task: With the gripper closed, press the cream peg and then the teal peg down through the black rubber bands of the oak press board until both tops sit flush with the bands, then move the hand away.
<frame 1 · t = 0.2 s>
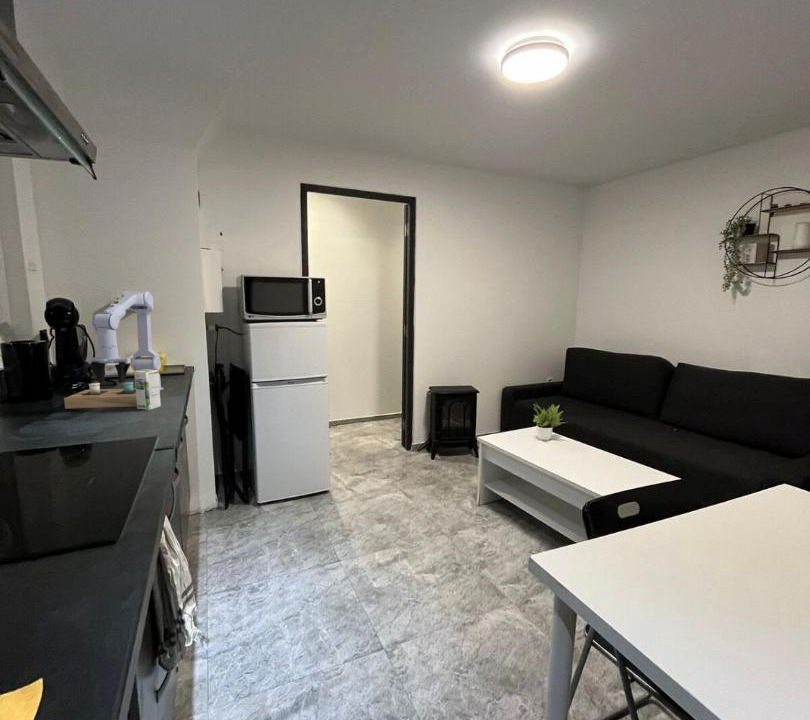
hand: (111, 382, 154), 10 cm above the table, tool pointing down, fingers open, 7 cm apart
syrup box: (149, 408, 156), on the table
oak press board: (113, 402, 163), on the table
teal peg: (128, 388, 163), point 6 cm above the table, slide at 0.0 cm
cream peg: (94, 388, 161), point 6 cm above the table, slide at 0.0 cm
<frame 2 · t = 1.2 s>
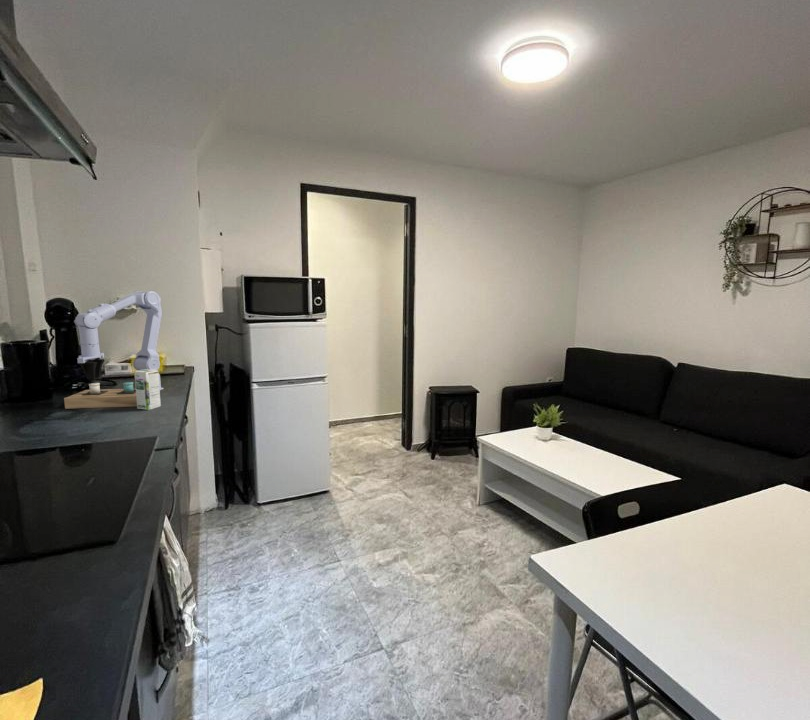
hand: (93, 378, 160), 10 cm above the table, tool pointing down, fingers open, 3 cm apart
nothing on the table moved.
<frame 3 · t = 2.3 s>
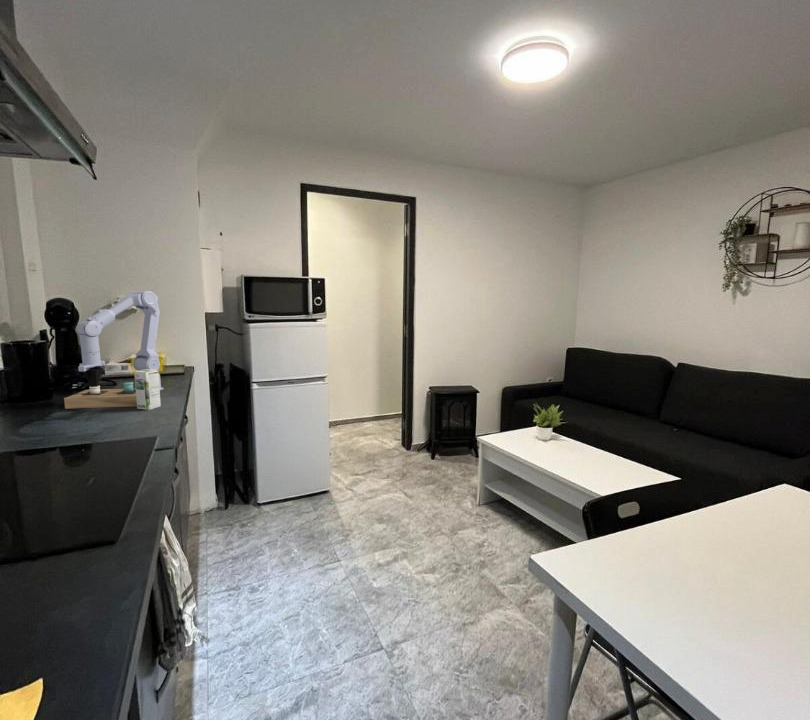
hand: (94, 386, 161), 7 cm above the table, tool pointing down, fingers closed, pressing on cream peg
cream peg: (95, 391, 161), point 5 cm above the table, slide at 1.1 cm, touching gripper
everything else where it was.
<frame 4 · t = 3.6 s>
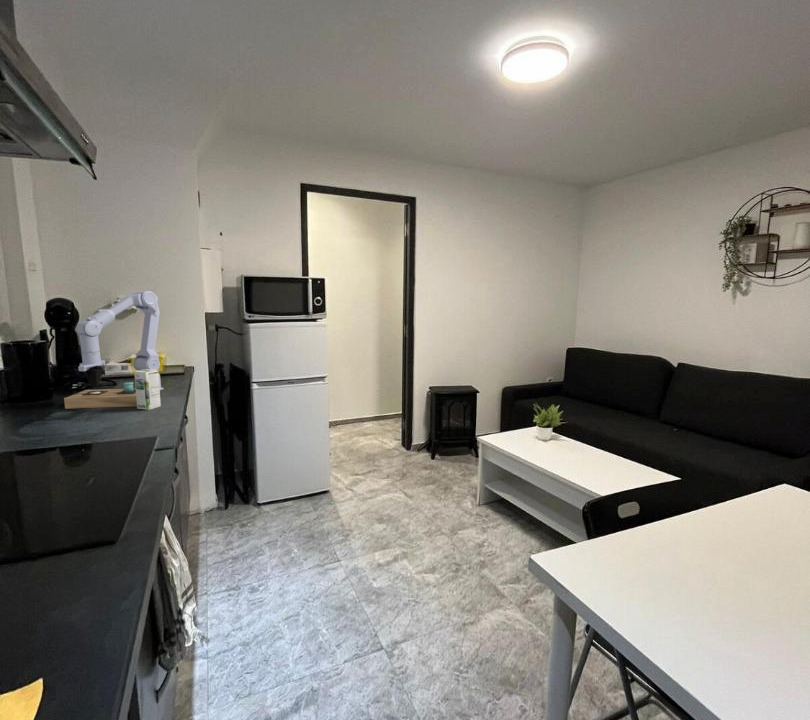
hand: (94, 386, 161), 7 cm above the table, tool pointing down, fingers closed
cream peg: (95, 397, 162), point 2 cm above the table, slide at 3.6 cm
everything else where it was.
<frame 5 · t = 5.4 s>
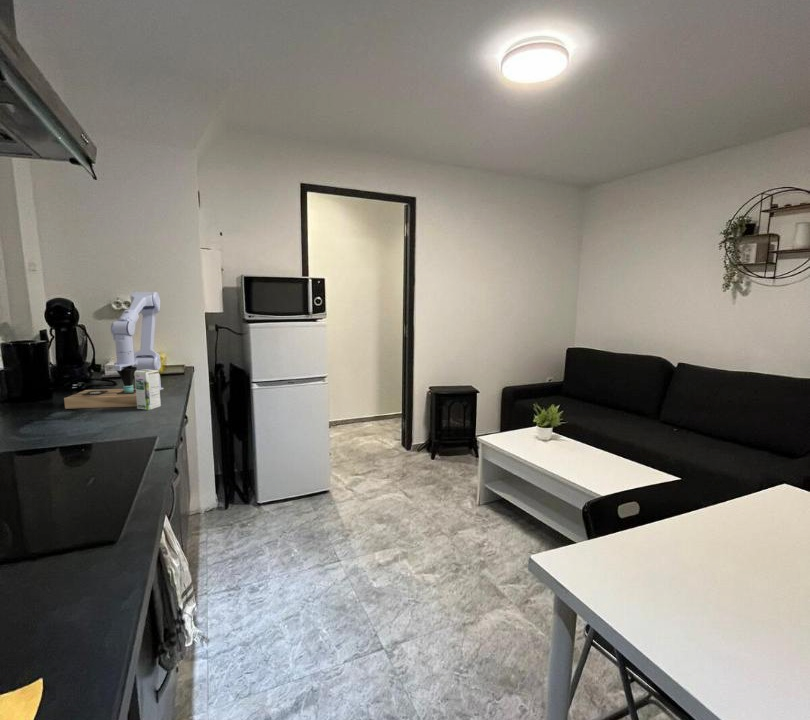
hand: (128, 385, 163), 7 cm above the table, tool pointing down, fingers closed, pressing on teal peg
teal peg: (128, 390, 163), point 5 cm above the table, slide at 1.1 cm, touching gripper
everything else where it was.
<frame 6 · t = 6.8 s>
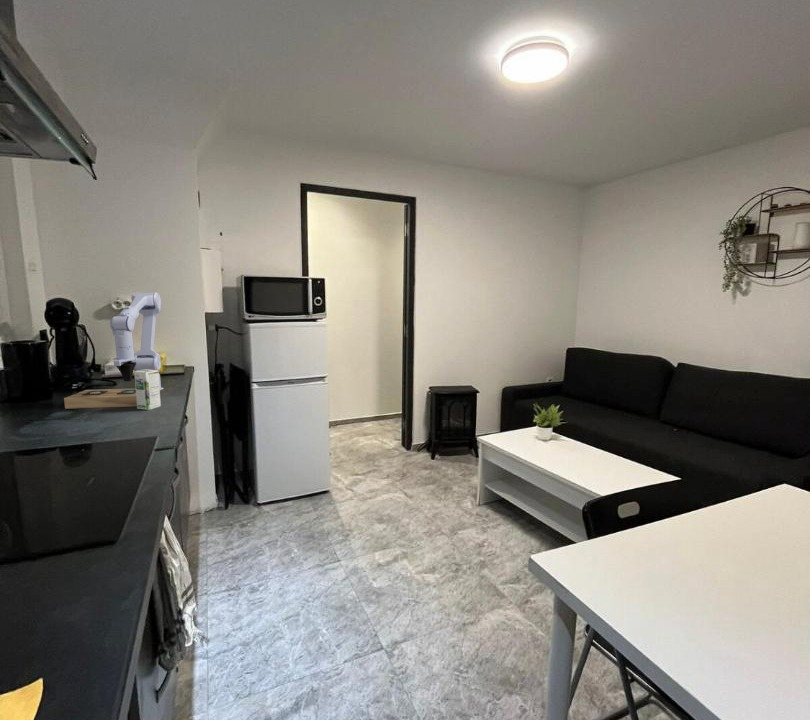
hand: (127, 380, 163), 9 cm above the table, tool pointing down, fingers closed
teal peg: (129, 396, 164), point 2 cm above the table, slide at 3.6 cm
everything else where it was.
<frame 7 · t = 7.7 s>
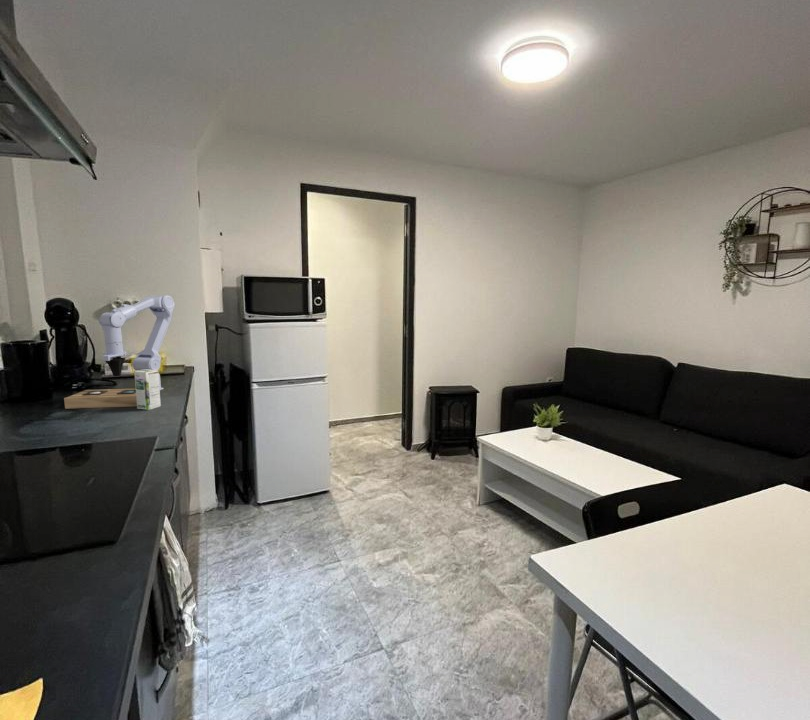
hand: (117, 375, 166), 10 cm above the table, tool pointing down, fingers closed
nothing on the table moved.
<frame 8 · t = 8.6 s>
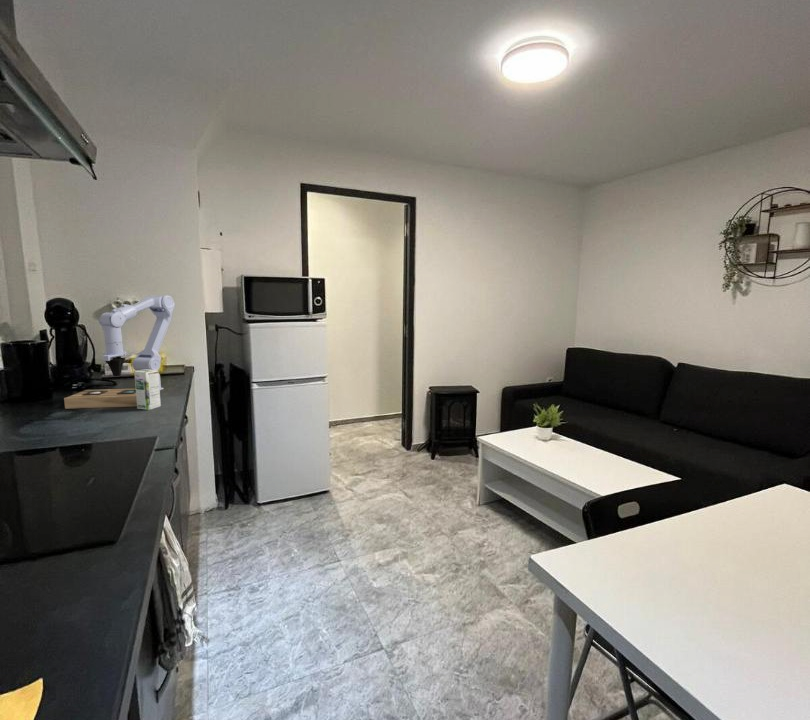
hand: (117, 375, 166), 10 cm above the table, tool pointing down, fingers closed
nothing on the table moved.
at the end: cream peg slide at 3.6 cm; teal peg slide at 3.6 cm; syrup box moved 0.2 cm from its start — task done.
